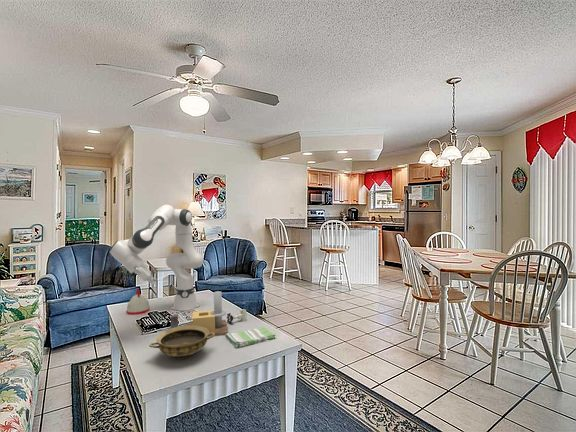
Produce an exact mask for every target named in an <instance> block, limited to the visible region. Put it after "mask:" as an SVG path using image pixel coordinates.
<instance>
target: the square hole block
mask: <svg viewBox="0 0 576 432" xmlns="http://www.w3.org/2000/svg"><path fill="white" fill-rule="evenodd" d="M222 295H223V294H222V291H219V290H217V291H214V292H213V309H208V310H197V311H192V323H193V326H201V327H204V328H206V329H208V331H215V327H216V328H219V327H222V320H223V317H224V316H227V312H226V311H225V310H223V309H222V308H223V307H222V306H223V304H222V303H223V299H222V298H223V297H222Z"/></svg>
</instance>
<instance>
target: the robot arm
mask: <svg viewBox="0 0 576 432" xmlns="http://www.w3.org/2000/svg"><path fill="white" fill-rule="evenodd" d="M192 220H193V214H192V212H191V211H190V209H186V208H174V207H173V206H172V205H171V204H162V206H160V207H158V208H157V209H156V210H155V211H154V212H153V213H152V214H151V215H150V217H149V218H148V221H147V222H148V224H147V225H146V226H145V227H144V228H141V229H138V230H137V231H135V233H134V234H133V235H132V236H131V237H129V238H128V239H123V240H119V239H118V240H116V241H115V242H114V244H113V245H111V246H110V248H109V254H111V256H112V257H113V258H114V259H115V260H116V261H117V262H118V263H120V264H122V266H123V267H124V269H126V270H127V271H128V272H129V273H130V274H133V273H134V274H135V275H136V276H138V277H139V278H140V279H142V281H143V282H146V281H147V282H148V283H149V284H151V285H152V286H154V285H155V284H156V281H157V279H156V278H155V277H153V275H152V271H151V270H150V269H149V268H148V267H147V266H146V264H144V263H145V260H144V259H143V258H142V257H140V255H139V254H141V253H142V252H143V251H145V250H146V249H147V248H148V247H149V246H151V245H152V244H153V242H154V238H155V235H156V234H157V232H158V231H162V230H163V229H165V228H166V227H167V226H169V225H170V226H175V229H174V230H175V232H174V235H175V245H176V246H177V247H178V248H179V249H181V250H182V251H183V252H175V253H174V252H173V253H170V254H168V255H167V257H166V258H165V264H166V266H167V267H168V268H170V270H172V272H173V274H174V275H175V280H176V289H175V293H176V294H175V296H174V297H173V305H172V306H171V308H170V309H171V310H175V311H181V312H182V311H183V312H185V311H190V310H194V309H196V308H199V307H200V304H199V303H198V302H197V294H196V293H195V287H194V276H193V275H192V274H191V273H189V272H188V271H187V269H188V270H190V269H192V270H193V269H198V268H201V267H202V266H203V263H204V257H203V255H202V254H201V253H199V252H198V250H197V249H196V248H195V246H194V242H193V230H192V223H191V222H192Z"/></svg>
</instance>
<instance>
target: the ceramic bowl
mask: <svg viewBox="0 0 576 432" xmlns="http://www.w3.org/2000/svg"><path fill="white" fill-rule="evenodd" d="M208 335H212V336H210V337H207V336H208ZM214 335H215V333H209V331H208V329H206V328H204V327H201V326H192V325H191V326H186V325H183V326H182V325H181V326H178V327H175V328H172V329H171V328H169V329H166V330H164V331H162V332H161V333H158V335H157V336H156V339H155V341H156V342H152V343H149V345H148V346H149V347H150V348H153V349H159V351H160V352H161V353H162V354H164V355H166V356H170V357H175V358H176V359H186V358H187V359H188V358H189V357H191V356H192V355H193V354H195V353H197V352H200V350H201V349H203V348H204V347H205V346H206V344H207V342H208V341H209V340H210V339H213V338H214V337H215V336H214Z"/></svg>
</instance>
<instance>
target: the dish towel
mask: <svg viewBox="0 0 576 432" xmlns="http://www.w3.org/2000/svg"><path fill="white" fill-rule="evenodd" d="M224 337H225V339H226V340H227V341H228V342H229V343H230V344H231V345H232V346H233V347H234V348H235V349H238V348H243V347H247V346H246V345H248V346H251V344H252V345H255V344H254V343H256V344H259V343H258V342H260V343H264V342H263V341H265V342H267V341H266V340H269V341H271V340H275V339H276V334H275V333H272V332H271V331H269V330H268V329H267V328H266V327H264V326H262V327H257V328H252V329H248V330H244V331H238V332H234V333H233V332H232V333H230V332H228V333H227V334H225V335H224ZM242 346H243V347H242Z"/></svg>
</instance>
